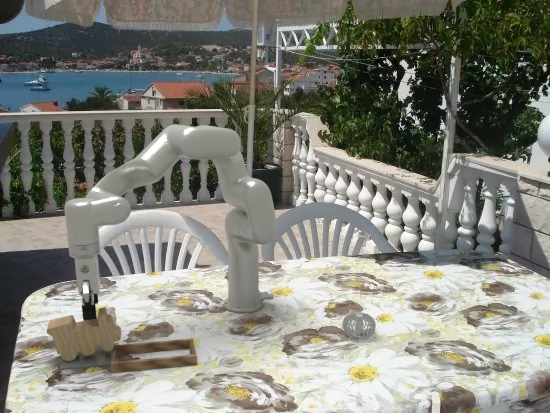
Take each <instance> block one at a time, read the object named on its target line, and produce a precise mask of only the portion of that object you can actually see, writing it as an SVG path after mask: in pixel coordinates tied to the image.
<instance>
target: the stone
mask: <svg viewBox="0 0 550 413" xmlns="http://www.w3.org/2000/svg"><path fill="white" fill-rule="evenodd" d="M106 311H107V314H108V315H109V314H111V316H112V319H113V323H115V324H116V325H117V314H116V307H115V306H111V307H109V306H108V307H106ZM96 316H97V317H98V314H96ZM97 317H96V318H97Z"/></svg>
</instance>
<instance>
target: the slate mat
mask: <svg viewBox="0 0 550 413" xmlns="http://www.w3.org/2000/svg"><path fill="white" fill-rule="evenodd" d="M114 345H120V344H119V342H118V341H117V342H114ZM111 354H112V350H111V351H105V350H104V349H102V346H101V345H98V346H96V349H95V352H94V354H92V355H89V356H85V355H84V354H82V353H81V352H80V351H79V350H78V354H77V356H76V358H75V359H74V360H72V361H66V360H63V358H62V357H61V361H60V366H59V371H62V370H71V369H82V368H83V369H84V368H94V367H95V368H96V367H102V366H103V367H104V366H111ZM118 361H119V355H118V354H116V362H118Z"/></svg>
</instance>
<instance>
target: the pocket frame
mask: <svg viewBox="0 0 550 413" xmlns="http://www.w3.org/2000/svg"><path fill="white" fill-rule="evenodd" d="M187 349H189V353H190V354H184V355H183V354H182V355H174V356H163V357H162V356H161V357H151V358H143V359H142V358H139V359H129V360H118V362H116V354H118V356H121V355H124V356H125V355H132V354H144V353H154V352H155V353H156V352H166V351H167V352H168V351H176V350H177V351H178V350H187ZM197 357H198V355H197V351H196V347H195V343H194V339H193V338H191V337H190V338H181V339H172V340H171V339H170V340H169V339H168V340H158V341H147V342H145V341H144V342H136V343H126V344H119V345H114V348H113V350H112V354H111V365H110V372H111V374H112V373H113V374H114V373H115V374H116V373H124V372H125V373H127V372H133V371H135V372H136V371H145V370H156V369H165V368H176V367H177V368H178V367H188V366H197V365H198V358H197Z"/></svg>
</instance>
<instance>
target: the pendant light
mask: <svg viewBox="0 0 550 413" xmlns="http://www.w3.org/2000/svg"><path fill="white" fill-rule="evenodd" d="M356 236H357V237H358V238H360V239H367V238H370V236H371V234H369V232H368V231H358V233H356ZM361 246H362V247H361V250H362V251H361V255H363V251H364V250H363V248H364V245H361ZM360 269H361V272H360V277H362V271H363V267H361V268H360ZM361 290H362V289H360V294H359V297H360V298H359V300H361V297H362V296H361V294H362V291H361ZM376 326H377V325H376V321H375V320H374V318H373V317H372V316H371V315H370V314H368V313H365V312H361V311H359V312H351V313H348V314H347V315H346V316H345V317H344V318H343V320H342V330H343V332H344V333H345V334H346V335H347V336H348V337H350V338H352V339H361V340H363V339H364V340H365V339H369V338H371V336H373V334H374V333H375V331H376ZM365 328H366V329H365ZM357 334H359V335H357ZM361 334H362V335H361Z"/></svg>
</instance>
